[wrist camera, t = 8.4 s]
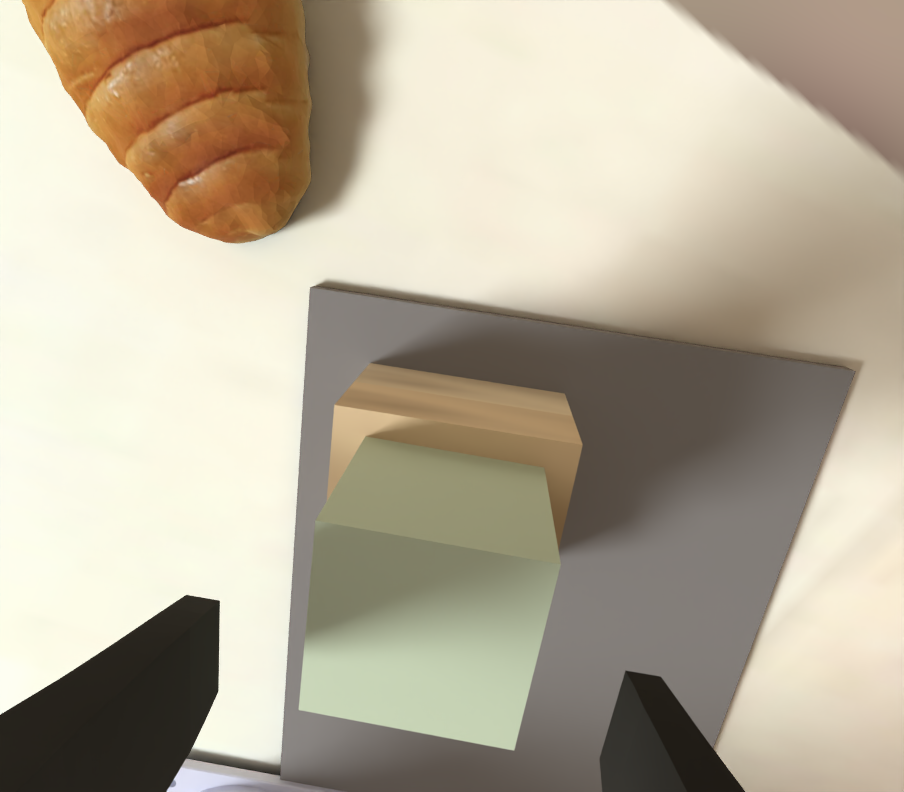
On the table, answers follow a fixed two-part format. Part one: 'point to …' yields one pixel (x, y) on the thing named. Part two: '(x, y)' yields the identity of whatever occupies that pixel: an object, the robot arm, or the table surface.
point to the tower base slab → (465, 388)
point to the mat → (583, 528)
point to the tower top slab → (459, 434)
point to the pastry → (193, 101)
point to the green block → (430, 592)
